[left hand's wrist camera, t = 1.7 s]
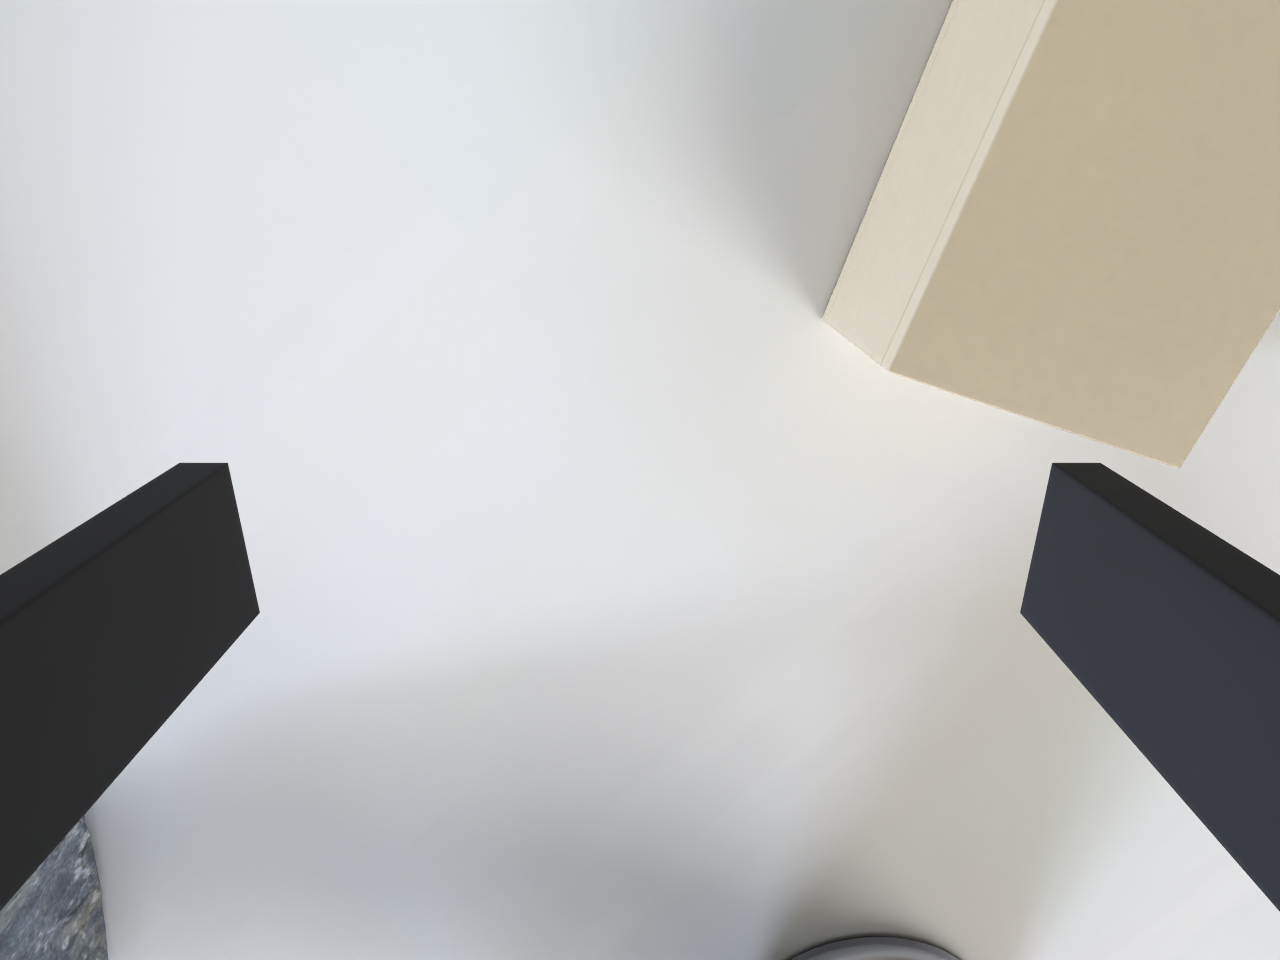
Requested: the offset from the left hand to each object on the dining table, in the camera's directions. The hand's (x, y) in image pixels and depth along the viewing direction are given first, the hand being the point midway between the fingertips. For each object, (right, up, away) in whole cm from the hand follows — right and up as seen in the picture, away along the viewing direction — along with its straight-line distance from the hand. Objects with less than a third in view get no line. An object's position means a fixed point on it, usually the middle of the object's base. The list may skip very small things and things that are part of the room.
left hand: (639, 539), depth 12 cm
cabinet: (+15, +14, +17) cm, 27 cm away
